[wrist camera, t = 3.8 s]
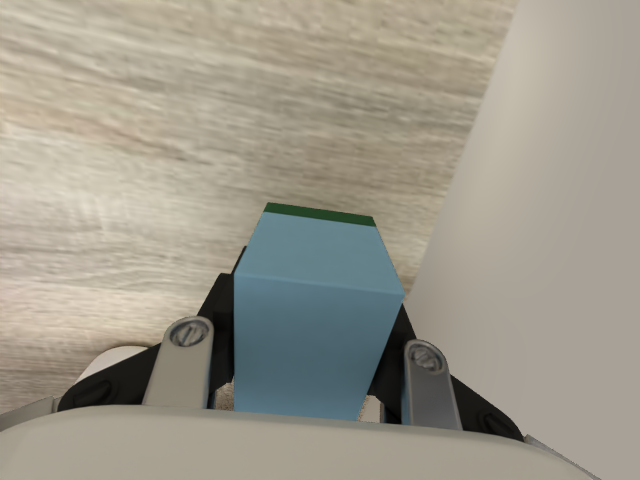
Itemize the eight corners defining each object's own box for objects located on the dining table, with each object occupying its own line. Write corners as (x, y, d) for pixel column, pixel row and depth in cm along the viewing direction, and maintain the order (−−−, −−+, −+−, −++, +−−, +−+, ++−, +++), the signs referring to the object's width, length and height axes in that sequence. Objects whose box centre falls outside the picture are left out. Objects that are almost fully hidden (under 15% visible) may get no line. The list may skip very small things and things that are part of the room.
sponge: (267, 201, 11) (232, 273, 7) (372, 216, 11) (407, 293, 7) (260, 318, 14) (233, 420, 10) (343, 326, 14) (354, 429, 10)
